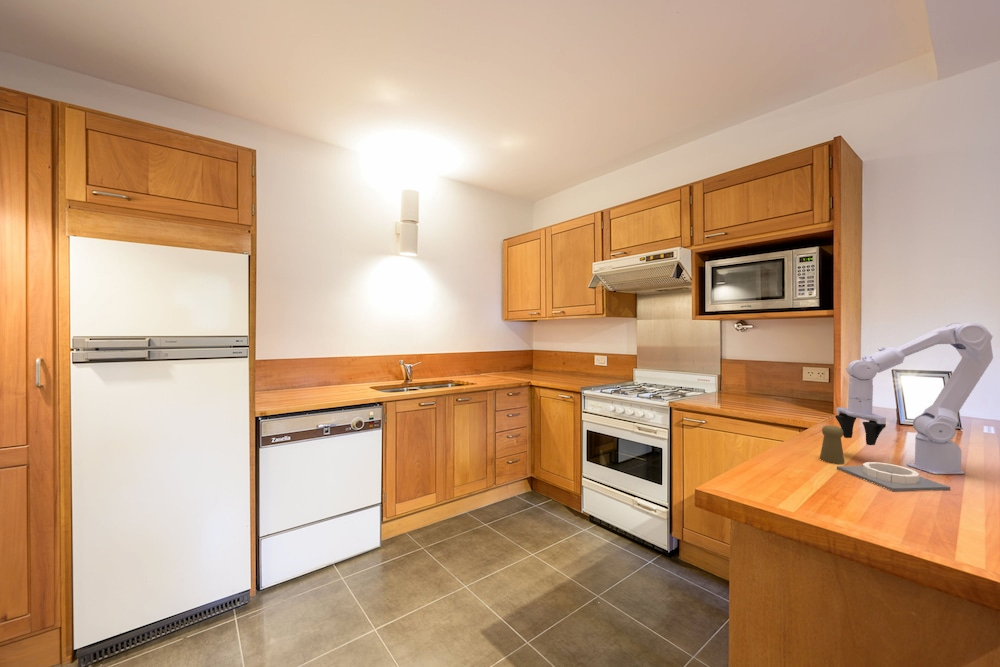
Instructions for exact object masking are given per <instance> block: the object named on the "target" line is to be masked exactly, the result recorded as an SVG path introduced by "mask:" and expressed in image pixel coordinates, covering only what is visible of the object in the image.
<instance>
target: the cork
mask: <svg viewBox="0 0 1000 667" xmlns="http://www.w3.org/2000/svg"><path fill="white" fill-rule="evenodd" d="M821 432H822V433H821V434H822V435H823V439H822V446H821V450H820V455H819V460H820V459H821V460H820V461H822V460H823V462H824V461H825V462H824V463H828V462H829V464H833V463H834V464H833V465H844V464H845V457H844V456H845V455H844V450H843V449H844V448H843V444H842V442H843V441H842V437H844V436H843V430H842V429H841V426H840V427H839V426H835V425H828V424H827V425H823V427H822V429H821Z"/></svg>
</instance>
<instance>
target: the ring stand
mask: <svg viewBox="0 0 1000 667" xmlns="http://www.w3.org/2000/svg"><path fill="white" fill-rule="evenodd" d="M836 470H838V471H840V470H841V471H840V472H843V473H846V474H849V475H850V474H851V476H852V477H855V476H856V478H858V477H859V479H860V478H862V479H861V480H863V479H865V480H867V481H866V482H868V481H870V482H873V483H875V484H878V485H880V486H882V487H881V488H883V487H885V488H887V489H886V490H888V489H890V490H892V491H891V492H916V491H915V490H933V491H951V486H948V485H945V484H943V483H940V482H937V481H934V480H931V479H928V478H925V477H923V476H921V475H920V473H919V472H917V471H915V470H914V469H911V468H908V467H905V466H903V465H902V466H901V465H897V464H892V463H887V462H886V463H885V462H878V461H877V462H876V461H867V462H864V463H862V465H845V466H844V465H843V466H842V465H838V466H836ZM865 480H864V481H865ZM870 482H869V483H870ZM873 483H872V484H873ZM875 484H874V485H875ZM878 485H877V486H878ZM880 486H879V487H880ZM885 488H884V489H885ZM890 490H889V491H890Z"/></svg>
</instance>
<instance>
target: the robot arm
mask: <svg viewBox="0 0 1000 667" xmlns="http://www.w3.org/2000/svg"><path fill="white" fill-rule="evenodd" d="M993 336H994V335H993V334H992V333H991V332H990V331H989V330H988V329H987V327H985V325H982V324H980V323H978V322H966V323H963V322H962V323H961V322H953V323H949V324H947V325H946V326H941V327H938V328H936V329H933V330H931V331H928V332H926V333H924V334H923V335H920V336H919V337H916V338H914V339H913V340H911V341H908V342H906V343H904V344H902V345H900V346H897V347H891V346H887V347H880V348H878V351H876V352H874V353H871V354H869V355H863V356H861V357H860V358H861V359H862V360H861V359H857V360H852V361H851V362H850V363H849V364H848V365H847V367H846V368H845V369H846V372H847V374H848V375H849V379H848V380H849V381H848V393H847V394H848V395H847V397H848V400H847V402H848V403H847V407H846V408H845V407H841V406H840V407H836V409H835V410H836V415H835V418H836V419H835V420H837V421H838V424H839V426H840V428H841V429H842V430H843V436H842V437H843V438H844V439H852V438H853V434H854V432H853V431H854V426H855V422H856V420H857V419H860V420H864V421H862V425H863V428H864V432H865V444H866V446H875V445H876V444H877V443H876V442H877V440H878V437H879V435H880V434H881V433H882V431H883V430H884V429H885V428H886V427H887V417H885V416H881V415H878V414H876V413H873V402H874V401H873V399H874V397H873V396H874V393H873V392H874V384H873V381H874V378H875V377H876V376H877V373H879V374H880V373H882V372H884V371H887V370H889V369H891V368H894V367H896V366H898V365H901V364H903V363H904V360H905V359H906V357H909V356H910V355H914V354H916V353H919V352H921V351H924V350H926V349H929V348H931V347H934V346H936V345H937V346H938V345H951V346H952V347H953V348H955V350H956V351H957V352H958V354H959V355H960V356H961V359H960V361H959V363H958V364H957V365H956V367H955V369H954V371H953V372H951V375H950V377H949V378H948V380H947V382H946V383H945V385H944V386H943V387H942V389H941V391H940V392H939V394H938V395H937V397H936V399H935V400H934V402H933V404H932V405H930V406H928V407H927V408H925V409H924V411H923V412H922V413H921V414H919V415H917V416H916V417H914V419H913V421H912V426H913V429H914V430H915V431H917V433H916V435H915V444H914V449H915V450H914V463H913V462H910V463H909V462H908V463H907V462H906V463H905V466H909V467H911V468H914V469H916V470H921V471H922V472H923V471H924V472H926V473H930V474H933V475H957V474H958V475H960V474H963V475H964V474H965V473H966V472H965V471H962V453H963V452H962V450H961V447H960V445H959V444H958V443H956V441H953V439H954V438H955V437H956V433H957V432H956V427H957V425H958V424H959V419H958V413H959V412H960V410H961V409H962V407H963V406H964V404H965V403H966V402H967V399H968V398H969V397H970V395H971V393H972V392H973V391H974V389H975V387H976V385H977V384H978V383H979V381H980V379H981V378H982V377H983V375H984V374H985V372H986V370H987V369H988V367H989V366H990V364H991V363H992V361H993V359H994V355H993V348H992V340H993V338H994V337H993ZM837 414H838V415H837Z"/></svg>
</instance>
